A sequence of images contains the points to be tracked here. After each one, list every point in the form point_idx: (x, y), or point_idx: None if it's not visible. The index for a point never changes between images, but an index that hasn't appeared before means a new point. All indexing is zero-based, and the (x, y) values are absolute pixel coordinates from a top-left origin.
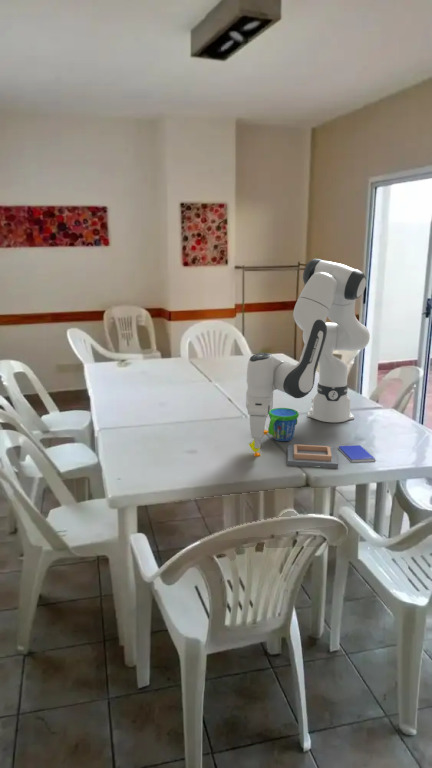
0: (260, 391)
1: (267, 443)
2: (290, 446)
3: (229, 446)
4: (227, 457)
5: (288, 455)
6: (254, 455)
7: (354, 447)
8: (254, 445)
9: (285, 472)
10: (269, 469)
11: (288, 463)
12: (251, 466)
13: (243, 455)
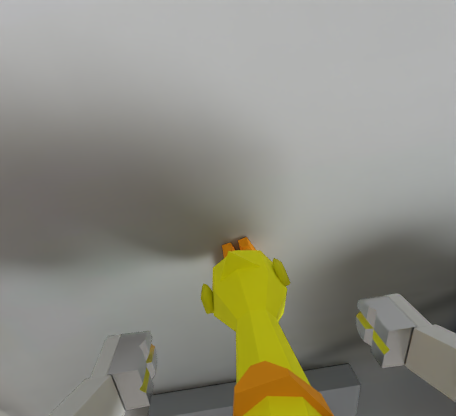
0: None
1: (435, 269)
2: (347, 395)
3: (384, 26)
4: (138, 62)
5: (221, 410)
6: (225, 245)
7: None
8: (215, 297)
9: None
10: (59, 346)
11: (151, 407)
12: (51, 260)
13: (217, 177)
